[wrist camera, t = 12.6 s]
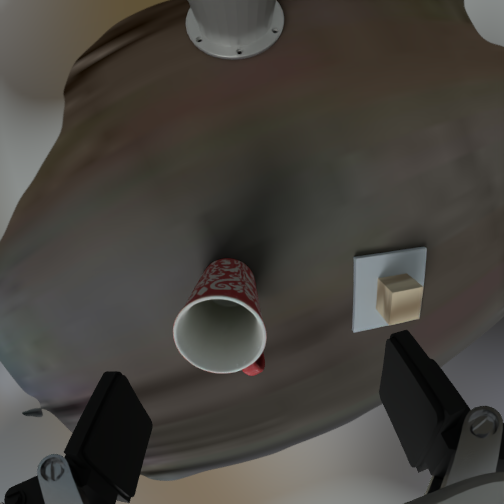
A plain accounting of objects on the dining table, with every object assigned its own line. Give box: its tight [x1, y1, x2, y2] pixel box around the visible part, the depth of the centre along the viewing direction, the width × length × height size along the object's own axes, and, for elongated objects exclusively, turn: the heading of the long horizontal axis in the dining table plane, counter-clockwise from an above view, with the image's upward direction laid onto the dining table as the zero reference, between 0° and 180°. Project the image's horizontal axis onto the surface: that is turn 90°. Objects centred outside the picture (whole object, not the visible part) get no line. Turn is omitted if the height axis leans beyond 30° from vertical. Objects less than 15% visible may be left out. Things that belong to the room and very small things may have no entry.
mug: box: [173, 258, 267, 376], centre depth 34 cm, size 13×9×14 cm
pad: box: [352, 247, 427, 332], centre depth 40 cm, size 12×12×1 cm
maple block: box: [376, 273, 423, 325], centre depth 37 cm, size 5×5×5 cm
